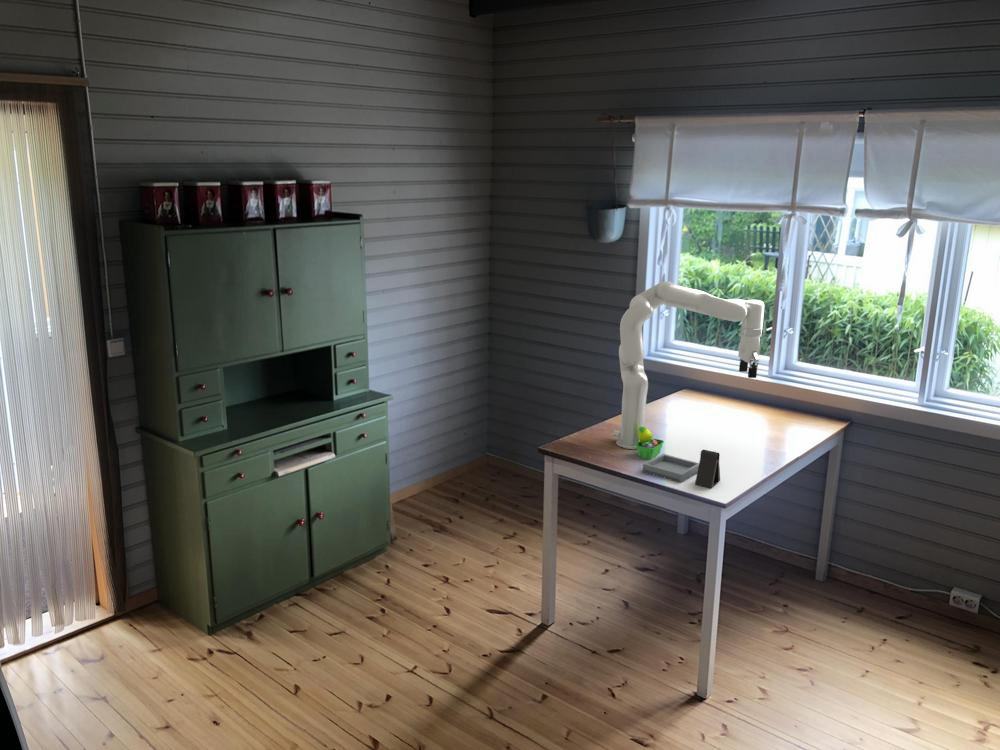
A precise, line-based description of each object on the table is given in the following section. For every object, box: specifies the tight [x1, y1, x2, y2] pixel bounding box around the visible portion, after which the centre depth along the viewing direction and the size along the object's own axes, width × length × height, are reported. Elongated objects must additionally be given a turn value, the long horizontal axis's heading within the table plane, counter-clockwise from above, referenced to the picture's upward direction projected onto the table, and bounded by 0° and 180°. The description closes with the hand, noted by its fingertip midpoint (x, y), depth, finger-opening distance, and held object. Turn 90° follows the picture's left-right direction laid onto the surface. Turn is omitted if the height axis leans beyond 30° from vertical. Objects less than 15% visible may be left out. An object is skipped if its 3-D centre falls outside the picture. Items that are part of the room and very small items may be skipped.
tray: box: [642, 453, 699, 483], centre depth 297 cm, size 16×15×3 cm
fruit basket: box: [636, 426, 665, 460], centre depth 313 cm, size 11×9×11 cm
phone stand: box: [694, 449, 721, 489], centre depth 285 cm, size 9×6×12 cm, turn 145°
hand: (747, 374), depth 316 cm, fingers open, 9 cm apart
